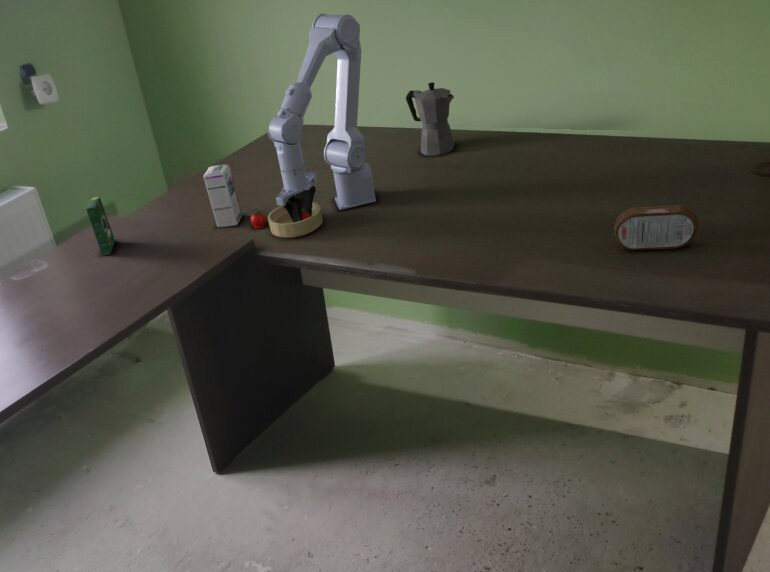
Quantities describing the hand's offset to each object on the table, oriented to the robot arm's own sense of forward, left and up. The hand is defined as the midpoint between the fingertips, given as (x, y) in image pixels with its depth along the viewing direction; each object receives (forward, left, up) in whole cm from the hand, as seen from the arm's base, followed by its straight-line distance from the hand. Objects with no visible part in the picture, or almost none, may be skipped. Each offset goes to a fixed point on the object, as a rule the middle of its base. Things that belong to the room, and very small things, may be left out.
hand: (302, 220), depth 213 cm
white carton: (+18, -15, -2) cm, 24 cm away
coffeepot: (-41, -31, -2) cm, 51 cm away
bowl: (+2, -2, -2) cm, 3 cm away
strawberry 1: (+11, -8, -2) cm, 13 cm away
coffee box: (+51, -17, -2) cm, 54 cm away
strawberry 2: (0, 0, -1) cm, 1 cm away
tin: (-65, +49, -2) cm, 81 cm away
